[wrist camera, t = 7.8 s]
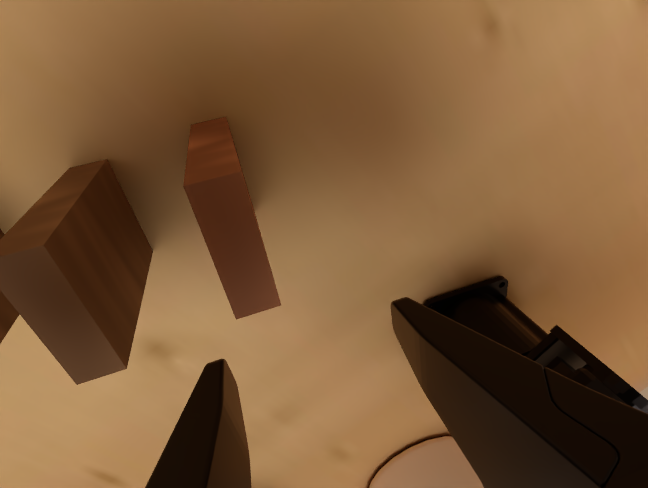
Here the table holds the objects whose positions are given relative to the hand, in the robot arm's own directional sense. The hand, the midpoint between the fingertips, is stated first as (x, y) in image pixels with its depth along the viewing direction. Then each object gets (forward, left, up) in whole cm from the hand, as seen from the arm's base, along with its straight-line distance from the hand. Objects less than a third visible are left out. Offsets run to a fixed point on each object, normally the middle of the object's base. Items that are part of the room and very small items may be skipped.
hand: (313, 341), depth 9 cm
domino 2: (+1, -1, -12) cm, 12 cm away
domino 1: (+7, 0, -12) cm, 14 cm away
